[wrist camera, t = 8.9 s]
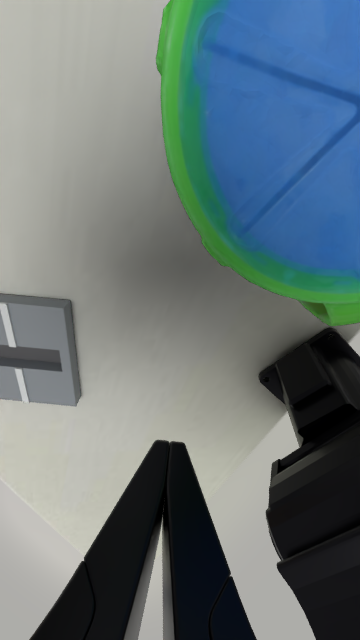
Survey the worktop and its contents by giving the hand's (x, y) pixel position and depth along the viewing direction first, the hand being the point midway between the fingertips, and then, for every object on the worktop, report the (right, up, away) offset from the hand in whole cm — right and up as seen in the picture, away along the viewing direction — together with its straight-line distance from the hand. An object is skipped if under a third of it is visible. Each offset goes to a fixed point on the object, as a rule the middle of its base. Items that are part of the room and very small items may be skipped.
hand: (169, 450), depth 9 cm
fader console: (-14, +2, +15) cm, 20 cm away
